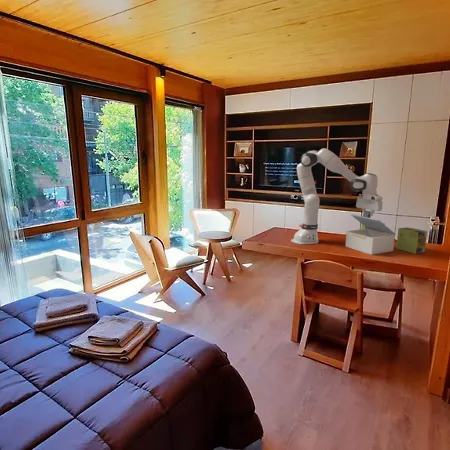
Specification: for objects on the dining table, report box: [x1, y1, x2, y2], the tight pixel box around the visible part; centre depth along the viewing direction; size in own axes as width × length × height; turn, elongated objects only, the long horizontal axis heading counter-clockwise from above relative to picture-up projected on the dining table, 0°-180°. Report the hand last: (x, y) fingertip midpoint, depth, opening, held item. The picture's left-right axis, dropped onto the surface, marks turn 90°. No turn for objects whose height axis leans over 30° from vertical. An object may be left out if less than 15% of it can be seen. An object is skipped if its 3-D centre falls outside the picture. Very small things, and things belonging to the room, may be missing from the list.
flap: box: [351, 210, 396, 236], centre depth 238 cm, size 22×24×6 cm
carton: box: [345, 228, 396, 256], centre depth 240 cm, size 22×24×12 cm
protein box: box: [395, 226, 428, 254], centre depth 236 cm, size 10×15×16 cm
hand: (367, 215), depth 234 cm, fingers closed on flap, 4 cm apart
